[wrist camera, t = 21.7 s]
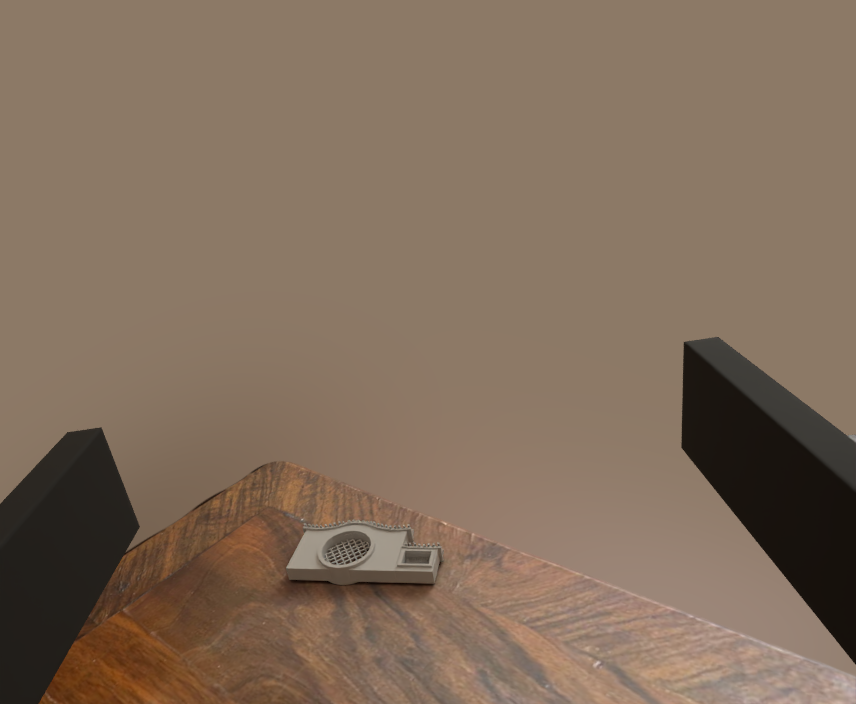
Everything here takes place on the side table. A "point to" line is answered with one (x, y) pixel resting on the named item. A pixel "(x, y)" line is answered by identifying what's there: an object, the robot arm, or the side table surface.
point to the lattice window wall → (379, 564)
